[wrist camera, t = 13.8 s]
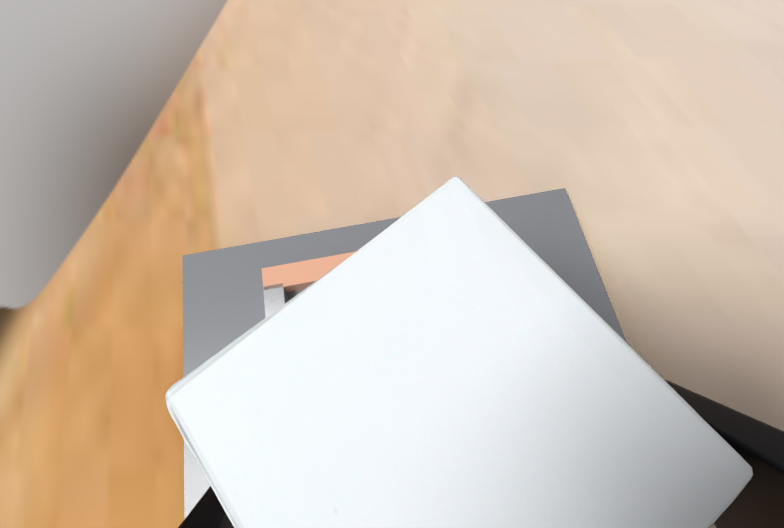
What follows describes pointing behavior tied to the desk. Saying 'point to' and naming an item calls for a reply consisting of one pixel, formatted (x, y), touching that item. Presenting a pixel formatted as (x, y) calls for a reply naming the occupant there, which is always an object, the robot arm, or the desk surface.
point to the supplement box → (448, 398)
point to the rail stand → (323, 253)
